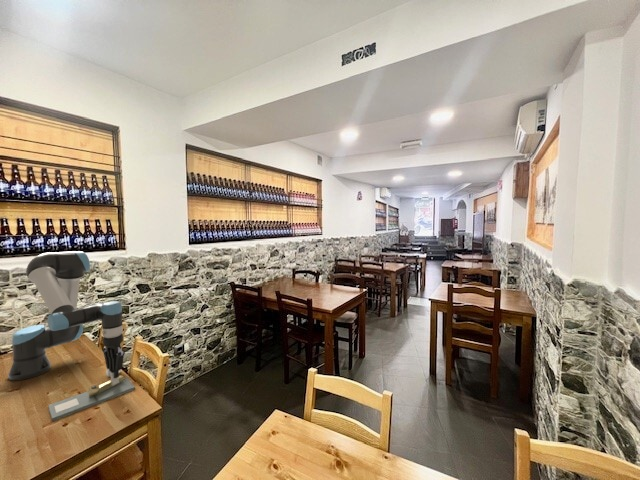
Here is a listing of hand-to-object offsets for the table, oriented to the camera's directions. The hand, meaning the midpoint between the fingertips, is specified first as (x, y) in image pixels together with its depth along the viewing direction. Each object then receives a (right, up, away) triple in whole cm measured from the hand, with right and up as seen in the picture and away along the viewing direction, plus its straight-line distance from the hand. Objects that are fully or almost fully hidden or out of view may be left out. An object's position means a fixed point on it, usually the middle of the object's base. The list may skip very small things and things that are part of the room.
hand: (115, 383), depth 127 cm
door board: (-5, -3, -7) cm, 8 cm away
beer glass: (-11, -2, +13) cm, 18 cm away
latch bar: (-3, -1, -2) cm, 3 cm away
